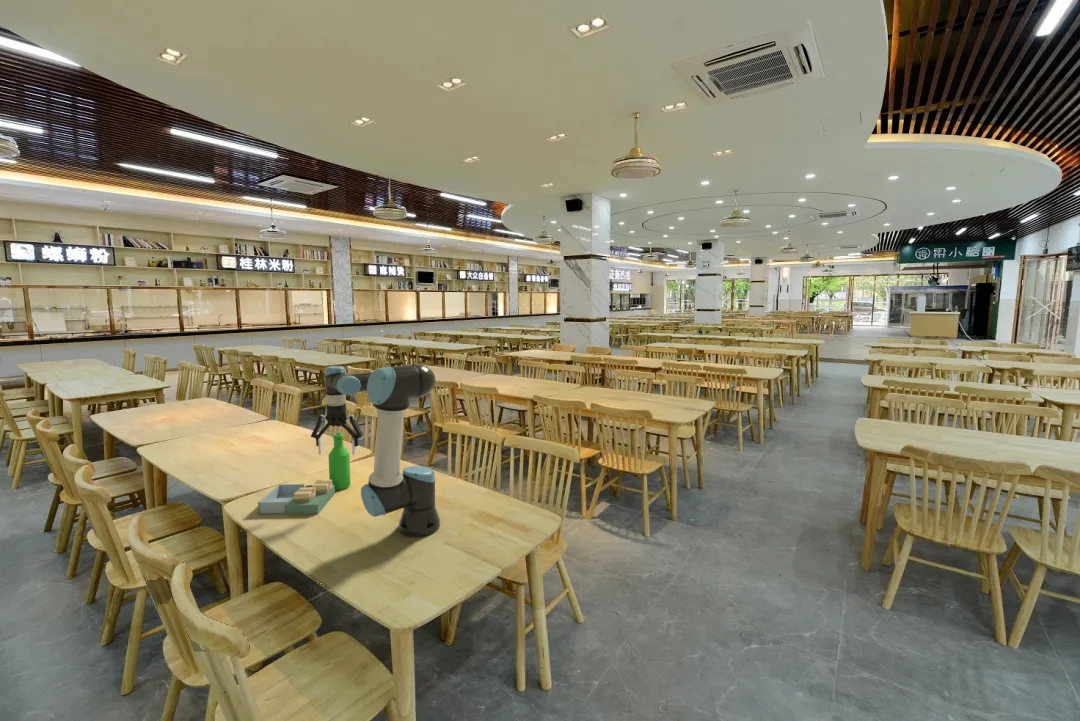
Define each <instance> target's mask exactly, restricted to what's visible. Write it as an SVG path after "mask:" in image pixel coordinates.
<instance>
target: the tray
mask: <svg viewBox="0 0 1080 721" xmlns="http://www.w3.org/2000/svg"><path fill="white" fill-rule="evenodd" d="M304 487H305V484H304V483H296V484H295V483H291V484H290V483H289V484H288V483H287V484H284V483H283V484H278V485H277V486H275V487H274V488H273V489H272V490H271V491H270V492H268V493H267V494H266V495H264V496H263V498H261V499H260V500H259V501H258V502H257V505H258V506H257V507H258V509H257V510H258V515H284V514H286V515H287V513H286V505H287V504H288V503H289V502H290V501H291V500H292V499H293V498H294V493H295V492H296V491H298V490H299V489H300V488H304Z"/></svg>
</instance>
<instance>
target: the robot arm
mask: <svg viewBox="0 0 1080 721" xmlns="http://www.w3.org/2000/svg"><path fill="white" fill-rule="evenodd" d="M435 385H436V375H435V373H434V372H433V370H432V369H431V368H430V367H429V366H426V365H424V364H408V365H406V364H405V365H396V366H385V367H380V368H379V367H378V368H376V369H374V370H373V371H371V372H370V371H369V372H368V371H367V372H361V373H358V372H357V373H350V374H348V373H347V374H346V369H345V367H344V366H342V365H332V366H331V365H330V366H327V367H326V368H325V369H324V386H325V388H324V389H325V404H326V406H325V412H326V414H325V415H324V414H320V415H319V416H317V422H316V425H315V427H314V428H313V431H312V432H311V434H310V437H311V438H314V439H315V444H316V445H315V446H316V447H318V455H322V454H323V453H324V439H323V438H324V437H322V435H323V434H324V433H326V431H328V429H329V427H330V426H331V427H342V428H343V429H345V431H346V432H347V433H348V434H349V435H350V436H351V437H352V439H351V444H352V445H351V446H352V448H351V449H352V450H351V451H352V455H356V454H357V447H358V446H359V443H360V442H359V439H361V438H362V437H363V436H364V434H363V432H362V429H361V428H360V426H359V424H358V423H357V421H356V418H355V416H356V415H354V414H350V415H347V404H346V402H347V398H346V397H347V396H354V395H356V394H358V393H361V392H362V393H363V392H367V397H368V400H369V402H370V403H371V404H372V405H373V406H372V407H373V408H375V410H377V418H376V431H375V432H376V434H375V447H374V463H373V464H374V465H373V471H372V472H371V473H370V474H369V476H368V483H367V484H364V485H363V486H362V487H361V490H360V497H361V501H362V504H363V507H364V508H365V510H366V512H367V513H368V514H369V515H370V516H371V517H375V518H376V517H381V516H385V515H386V514H390V513H392V512H395V511H398V510H401V509H403V510H402V513H401V516H400V519H399V524H398V530H399V532H400V533H401V534H402V535H403V536H407V537H412V538H414V537H415V538H416V537H418V538H419V537H425V536H428V535H431V534H433V533H435V532H436V531H438V530H439V529H440V526H441V519H440V516H439V513H438V510H437V508H436V475H435V472H434V470H433V469H432V468H430V467H426V466H421V465H413V466H412V465H411V466H406V467H404V468H403V470H402V473H401V471H400V470H401V469H400V467H401V458H402V445H403V442H402V441H403V434H404V433H403V431H404V421H405V420H404V419H405V412H406V411H407V410H409V408H410V402H411V400H414V399H419V398H423V397H425V396H427V395H428V394H430V393H431V392H432V391H433V389H434V388H435ZM325 420H326V421H327V423H326V424H325V425H324V426H323V427H322V429H321V430H320V428H321V426H322V425H323V422H324V421H325ZM347 420H348V421H349V422H350V425H349V422H348V421H347ZM351 426H352V427H351ZM319 430H320V431H319Z"/></svg>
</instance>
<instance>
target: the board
mask: <svg viewBox="0 0 1080 721" xmlns="http://www.w3.org/2000/svg"><path fill="white" fill-rule="evenodd" d="M312 485H313V484H308V485H307V484H306V485H304V488H311V487H312ZM334 495H336V490H335V485H332V489H331V490H330V491H329V492H328V493H316V496H315V497H314V498H313V499H312V500H311V501H310V502H295V500H294V498H293V499H292V500H291V501H290V502H289V503H288V504H287V505H286V513H287V514H286V515H287V516H289V515H290V516H299V515H319V513H320V512H321V511H322V510H323V509H324V508H325V507H326V505H327V504H328V503H329V501H330V500H331V499H332V498H333V496H334Z"/></svg>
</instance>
